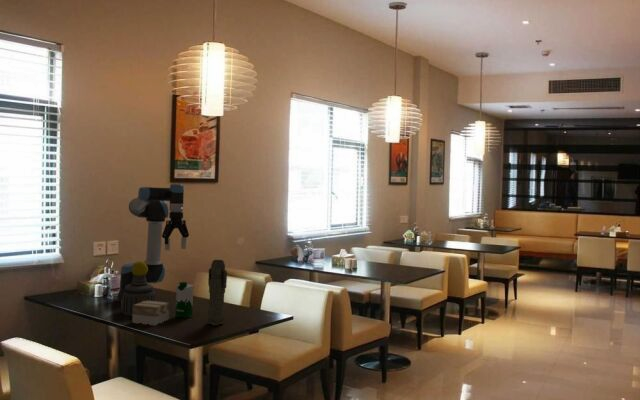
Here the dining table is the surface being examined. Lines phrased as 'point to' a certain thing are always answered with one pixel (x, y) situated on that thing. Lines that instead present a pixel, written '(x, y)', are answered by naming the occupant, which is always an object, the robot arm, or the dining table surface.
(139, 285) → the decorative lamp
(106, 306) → the dining table surface
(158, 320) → the tower base
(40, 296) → the dining table surface
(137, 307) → the tower top
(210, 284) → the dark figurine statue
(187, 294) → the soya milk
